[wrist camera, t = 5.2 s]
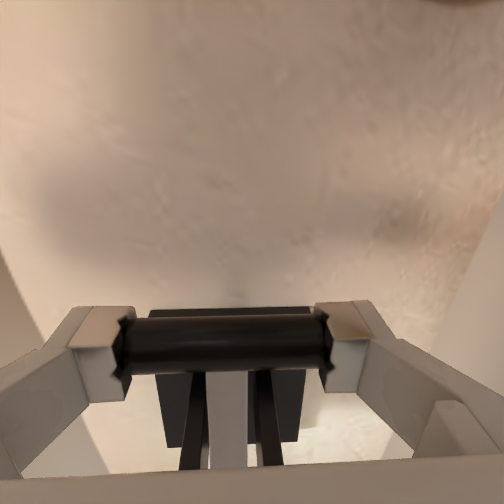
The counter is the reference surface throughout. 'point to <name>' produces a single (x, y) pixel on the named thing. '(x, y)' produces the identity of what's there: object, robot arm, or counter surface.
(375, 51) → the counter surface
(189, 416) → the bracket
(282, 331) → the lever
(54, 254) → the counter surface
